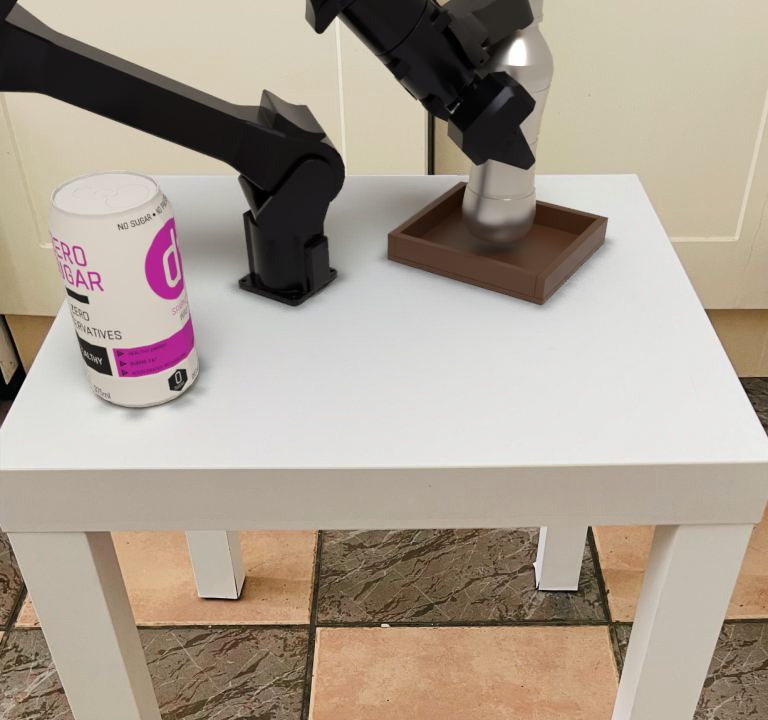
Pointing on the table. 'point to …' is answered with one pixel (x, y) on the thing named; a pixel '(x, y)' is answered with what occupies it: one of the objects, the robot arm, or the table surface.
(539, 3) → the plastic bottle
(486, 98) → the robot arm
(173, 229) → the white soda can
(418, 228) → the tray
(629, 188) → the table surface
